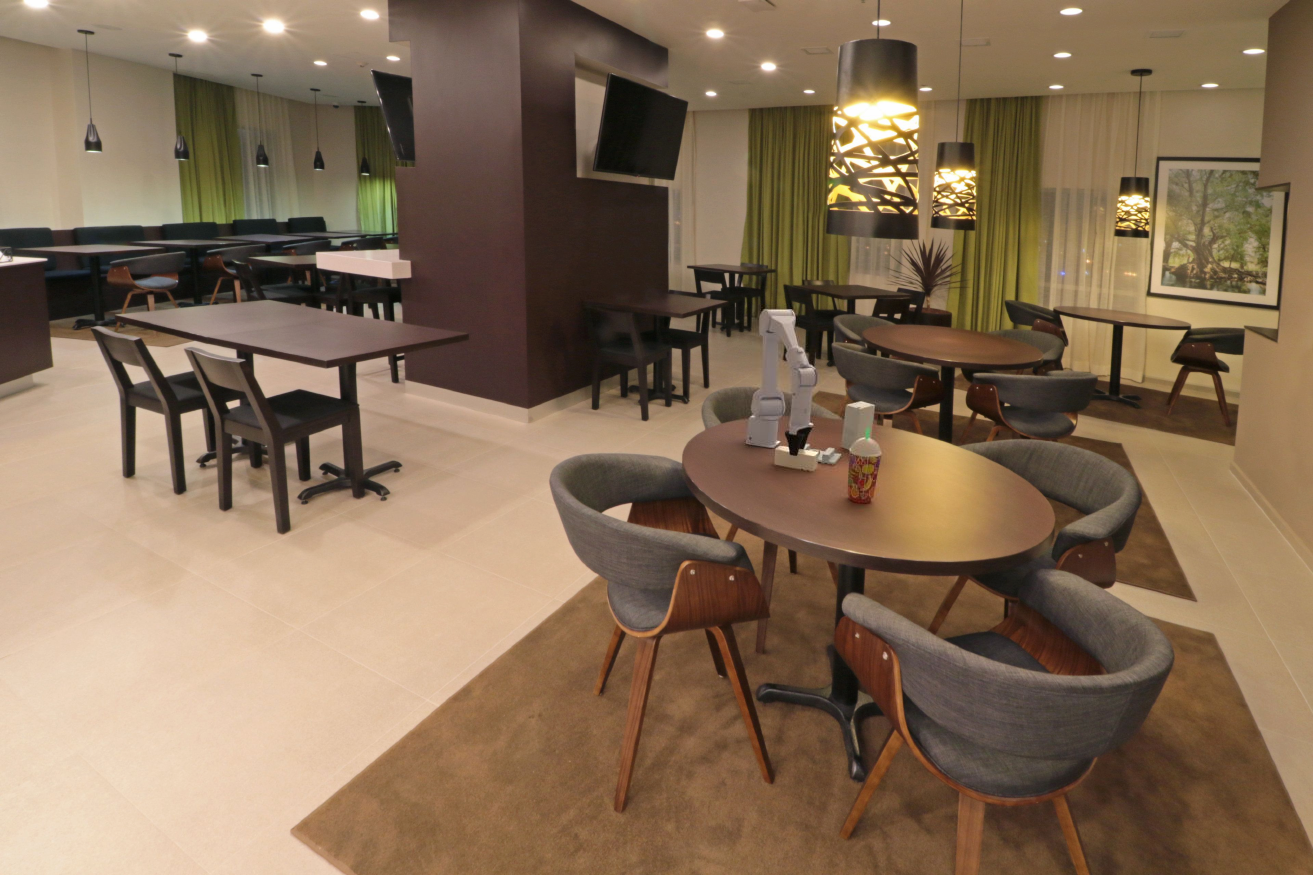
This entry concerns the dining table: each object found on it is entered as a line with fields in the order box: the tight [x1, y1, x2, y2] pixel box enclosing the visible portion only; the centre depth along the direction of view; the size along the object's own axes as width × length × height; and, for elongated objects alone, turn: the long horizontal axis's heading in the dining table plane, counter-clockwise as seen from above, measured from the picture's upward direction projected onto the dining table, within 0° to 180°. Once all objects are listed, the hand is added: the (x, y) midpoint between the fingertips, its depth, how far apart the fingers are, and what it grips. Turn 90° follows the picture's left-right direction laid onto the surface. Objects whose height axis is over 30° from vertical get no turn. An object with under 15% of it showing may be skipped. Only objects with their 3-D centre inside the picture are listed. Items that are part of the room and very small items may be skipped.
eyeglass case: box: [773, 445, 819, 472], centre depth 237 cm, size 12×4×5 cm, turn 64°
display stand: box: [802, 443, 842, 466], centre depth 247 cm, size 14×10×3 cm
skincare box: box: [840, 400, 876, 451], centre depth 256 cm, size 8×6×15 cm
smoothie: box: [846, 428, 883, 504], centre depth 209 cm, size 8×8×20 cm
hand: (797, 452), depth 236 cm, fingers open, 7 cm apart
